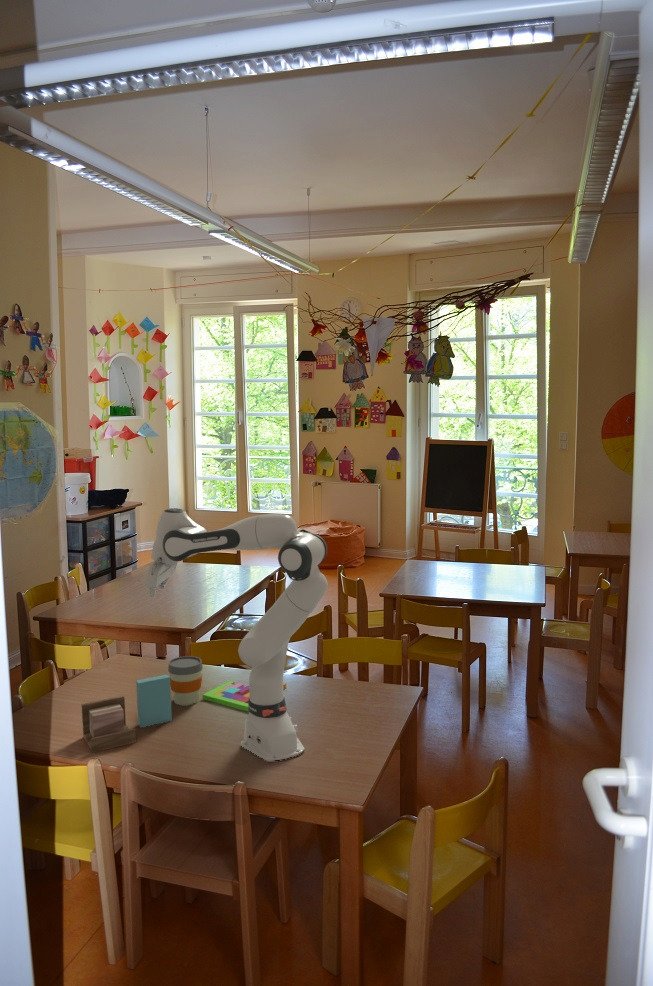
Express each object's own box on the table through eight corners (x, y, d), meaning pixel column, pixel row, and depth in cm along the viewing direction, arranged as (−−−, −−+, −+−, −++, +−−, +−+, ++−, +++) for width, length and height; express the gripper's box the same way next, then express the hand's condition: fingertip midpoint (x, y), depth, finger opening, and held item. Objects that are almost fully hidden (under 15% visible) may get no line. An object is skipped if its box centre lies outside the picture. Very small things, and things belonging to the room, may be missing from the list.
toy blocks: (250, 713, 276) (291, 690, 297) (250, 707, 276) (290, 684, 297) (202, 700, 288) (244, 679, 309) (202, 694, 288) (244, 673, 309)
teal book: (171, 721, 269) (170, 677, 267) (140, 728, 264) (138, 683, 262) (169, 717, 272) (167, 674, 270) (138, 724, 266) (136, 680, 264)
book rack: (135, 742, 253) (134, 709, 252) (92, 752, 246) (90, 718, 245) (125, 727, 264) (123, 695, 263) (83, 736, 257) (81, 704, 256)
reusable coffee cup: (184, 691, 295) (183, 653, 293) (210, 697, 289) (209, 659, 287) (162, 703, 285) (160, 664, 283) (188, 710, 278) (187, 670, 276)
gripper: (163, 565, 248) (154, 604, 251) (183, 549, 268) (175, 585, 271) (144, 560, 249) (136, 599, 252) (166, 544, 269) (158, 580, 272)
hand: (157, 592), depth 262 cm, fingers open, 8 cm apart
